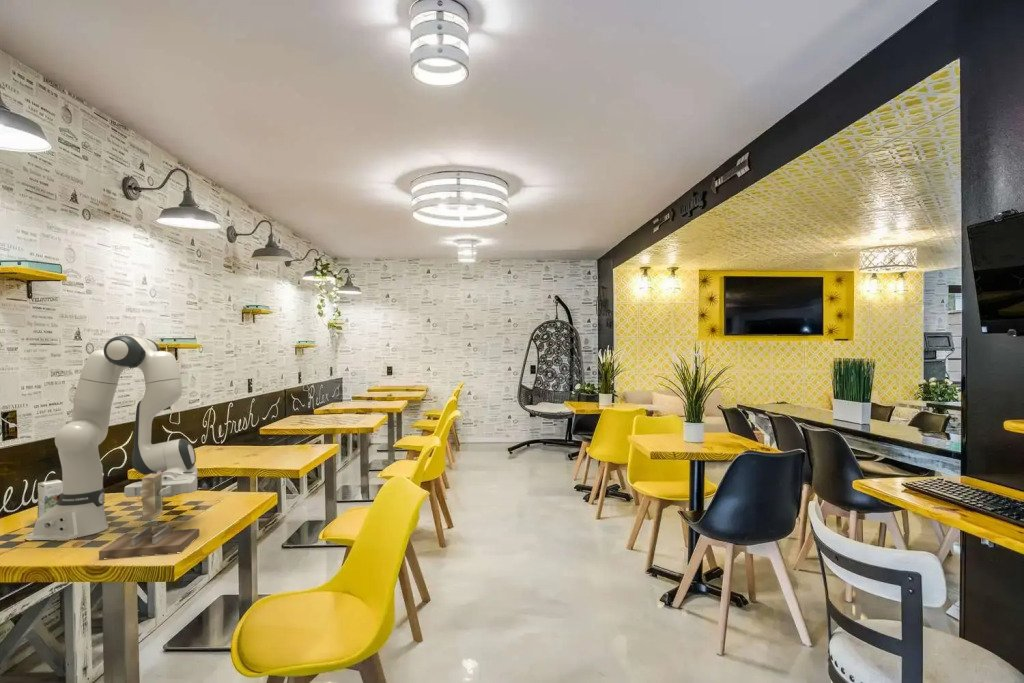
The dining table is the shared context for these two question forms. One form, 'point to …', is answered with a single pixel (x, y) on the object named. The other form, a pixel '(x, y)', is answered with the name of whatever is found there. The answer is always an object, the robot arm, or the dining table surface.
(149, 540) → the notch board
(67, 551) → the dining table surface
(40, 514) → the syrup box
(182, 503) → the dining table surface
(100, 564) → the dining table surface
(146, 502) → the tan wooden block
